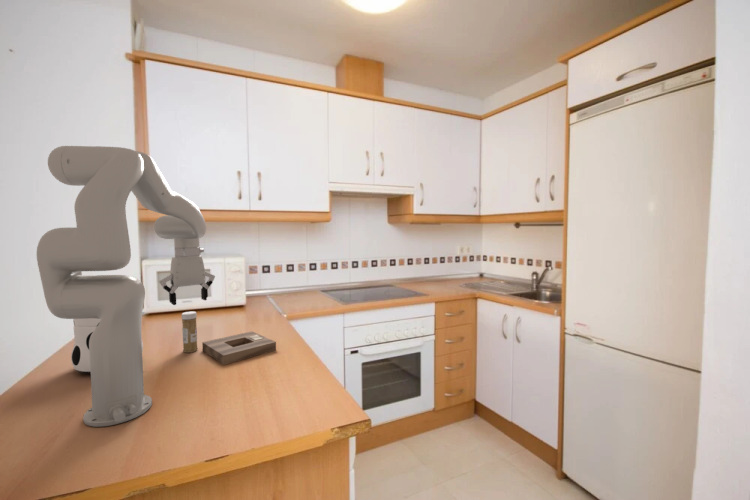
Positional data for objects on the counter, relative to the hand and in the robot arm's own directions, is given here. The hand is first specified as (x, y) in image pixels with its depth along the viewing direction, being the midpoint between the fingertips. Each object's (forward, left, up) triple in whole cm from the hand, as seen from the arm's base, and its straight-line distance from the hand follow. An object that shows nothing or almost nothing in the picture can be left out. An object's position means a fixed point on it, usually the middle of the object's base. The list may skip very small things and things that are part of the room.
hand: (189, 302), depth 118 cm
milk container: (+3, +22, -17) cm, 28 cm away
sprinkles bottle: (0, 0, -17) cm, 17 cm away
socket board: (-12, -12, -17) cm, 24 cm away
